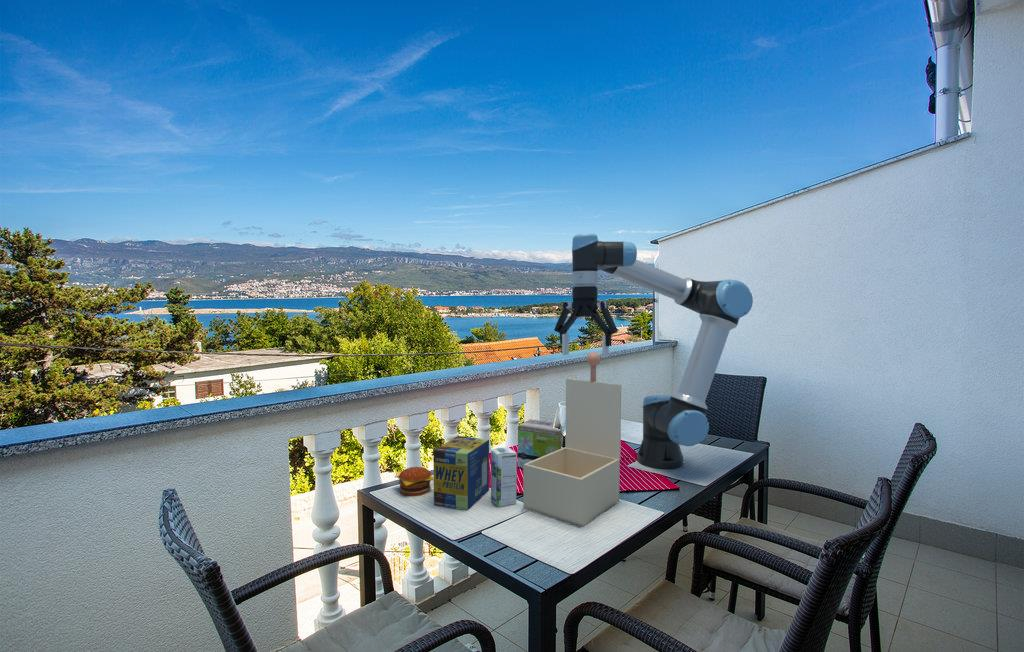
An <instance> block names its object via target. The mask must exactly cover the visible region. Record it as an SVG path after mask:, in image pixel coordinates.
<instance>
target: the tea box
mask: <svg viewBox="0 0 1024 652" xmlns="http://www.w3.org/2000/svg"><path fill="white" fill-rule="evenodd" d="M553 423H555V422H552V421H545V420H538V419H531V418H530V419H528V420H527V421H525V422H523V423H521V424H519V425H517V468H518V467H521V468H520V469H523V464H526V463H528V462H530V461H533V460H535V459H538V458H540V457H542V456H545V455H547V454H550V453H552V452H554V451H557V450H559V449H561V429H558V428H555V426H554V428H553Z"/></svg>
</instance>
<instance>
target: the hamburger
mask: <svg viewBox="0 0 1024 652" xmlns="http://www.w3.org/2000/svg"><path fill="white" fill-rule="evenodd" d="M395 478H398V481H399V482H398V483H399V488H398V489H399V493H400V494H401V495H403V496H410V497H415V496H421V495H425V494H427V493H428V492H430V490H431V489H432V487H431V481H434V476H432V473H431V471H430V470H429V469H428V468H425V467H423V466H410V467H407V468H405V469H403V470H401V471H400V474H398V475H396V476H395Z"/></svg>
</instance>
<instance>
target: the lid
mask: <svg viewBox="0 0 1024 652" xmlns="http://www.w3.org/2000/svg"><path fill="white" fill-rule="evenodd" d="M585 358H586V362H587V363H586V364H588V365H589V366H590V376H589V377H590V379H589V380H584V379H577V378H576V379H574V378H566V379H565V424H566V435H565V447H566V448H571V449H575V450H580V451H584V452H589V453H593V454H598V455H602V456H607V457H611V458H616V459H620V460H621V446H622V445H621V443H622V442H621V437H622V436H621V433H622V431H621V430H622V384H619V383H610V382H603V381H597V366H598V365H600V364H601V355H600V354H599V353H598V352H595V351H591V352H589V353H588V354H587V355H586V357H585Z"/></svg>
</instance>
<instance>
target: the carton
mask: <svg viewBox="0 0 1024 652" xmlns="http://www.w3.org/2000/svg"><path fill="white" fill-rule="evenodd" d="M620 461H621V458H620V459H616V458H612V457H607V456H603V455H598V454H593V453H589V452H584V451H580V450H575V449H571V448H566V447H564V448H562V449H559V450H557V451H554V452H552V453H550V454H547V455H545V456H542V457H540V458H538V459H535V460H533V461H530V462H528V463H526V464H523V468H522V469H523V470H522V471H523V472H522V473H523V475H522V476H523V478H522V479H523V480H522V482H523V484H522V485H523V489H522V490H523V492H522V493H523V497H522V498H523V509H524V510H527V511H531V512H533V513H536V514H538V515H542V516H544V515H545V517H547V516H548V518H550V517H551V519H553V518H554V519H553V520H557V521H559V520H560V521H559V522H563V523H565V524H568V523H569V525H571V524H572V526H574V525H575V527H577V526H579V527H578V528H580V527H582V528H583V527H585V526H587V525H588V524H589V523H590V521H591V522H593V519H594V520H595V519H597V518H598V517H599V515H600V514H601V513H602V514H604V513H605V512H607V511H608V510H609V508H610V507H611V506H613V505H614V504H616V503H617V502H619V503H620V475H621V474H620V473H621V471H620V467H621V466H620V465H621V463H620ZM617 504H618V503H617ZM617 504H616V505H617ZM614 506H615V505H614ZM614 506H613V507H614ZM611 508H612V507H611ZM611 508H610V509H611ZM607 509H608V510H607ZM606 510H607V511H606ZM604 511H605V512H604ZM603 512H604V513H603ZM602 514H601V515H602ZM601 515H600V516H601ZM597 516H598V517H597ZM596 517H597V518H596ZM587 523H588V524H587ZM584 525H585V526H584Z"/></svg>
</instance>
